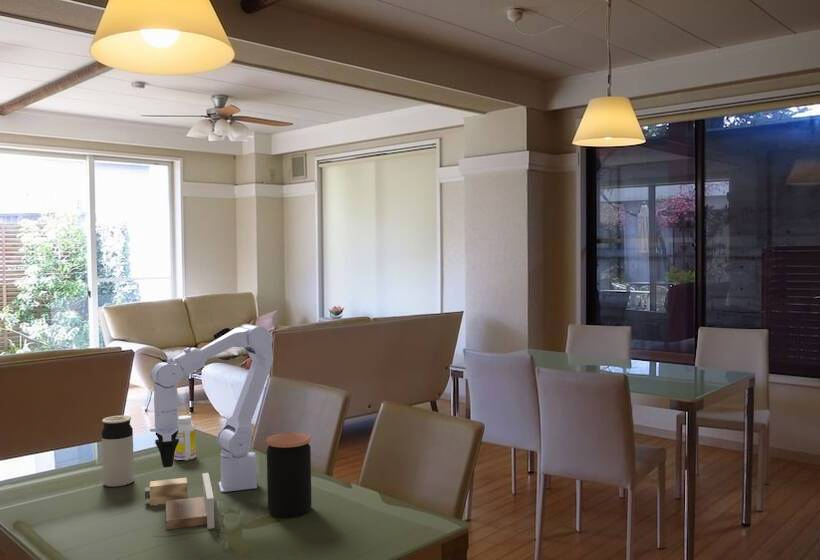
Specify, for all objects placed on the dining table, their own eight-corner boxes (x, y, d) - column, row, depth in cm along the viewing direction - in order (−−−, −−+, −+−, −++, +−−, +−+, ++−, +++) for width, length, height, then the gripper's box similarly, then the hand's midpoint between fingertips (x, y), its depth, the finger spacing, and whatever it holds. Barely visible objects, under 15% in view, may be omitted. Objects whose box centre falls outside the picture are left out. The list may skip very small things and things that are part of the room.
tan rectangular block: (187, 496, 187) (186, 477, 187) (187, 501, 183) (187, 482, 183) (145, 501, 184) (144, 482, 184) (145, 507, 180) (144, 487, 180)
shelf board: (209, 499, 184) (208, 472, 184) (214, 528, 165) (213, 498, 165) (203, 500, 184) (202, 473, 183) (207, 528, 165) (207, 498, 164)
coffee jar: (319, 505, 179) (318, 434, 178) (299, 520, 169) (297, 445, 168) (281, 500, 183) (280, 431, 182) (259, 515, 173) (257, 441, 172)
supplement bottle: (193, 453, 226) (192, 413, 225) (198, 459, 220) (197, 417, 220) (171, 457, 222) (170, 416, 222) (176, 462, 217) (175, 420, 216)
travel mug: (115, 489, 193) (113, 423, 192) (96, 484, 197) (94, 419, 196) (140, 481, 200) (138, 417, 199) (122, 476, 204) (120, 413, 203)
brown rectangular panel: (203, 504, 181) (203, 496, 181) (207, 524, 168) (206, 515, 168) (165, 508, 178) (165, 500, 178) (166, 529, 165) (166, 520, 165)
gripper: (150, 405, 188) (151, 456, 189) (149, 417, 175) (150, 472, 175) (178, 403, 191) (179, 453, 191) (179, 415, 177) (180, 469, 178)
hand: (167, 462), depth 183 cm, fingers open, 7 cm apart
